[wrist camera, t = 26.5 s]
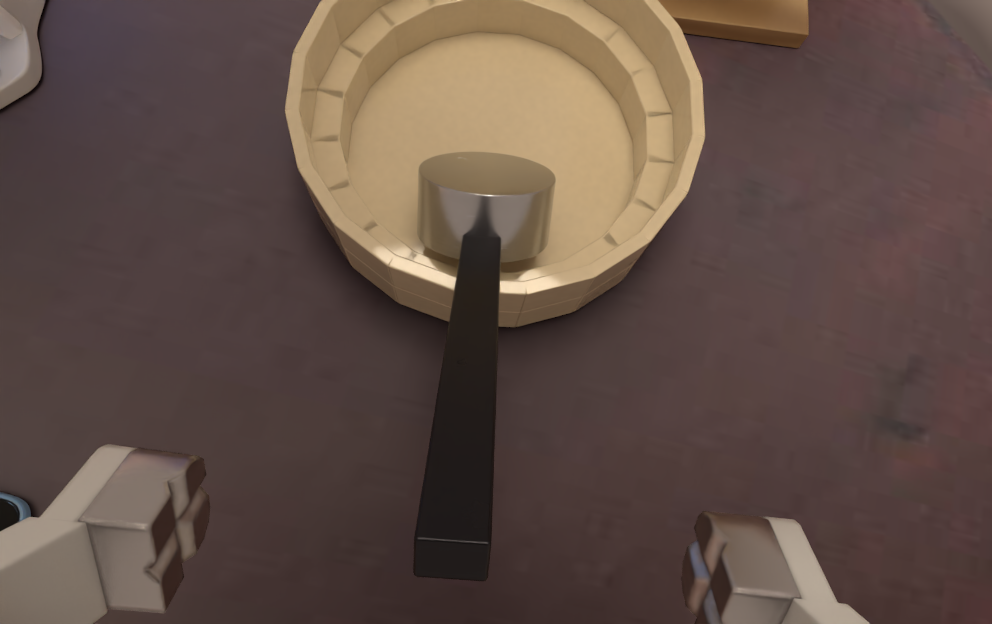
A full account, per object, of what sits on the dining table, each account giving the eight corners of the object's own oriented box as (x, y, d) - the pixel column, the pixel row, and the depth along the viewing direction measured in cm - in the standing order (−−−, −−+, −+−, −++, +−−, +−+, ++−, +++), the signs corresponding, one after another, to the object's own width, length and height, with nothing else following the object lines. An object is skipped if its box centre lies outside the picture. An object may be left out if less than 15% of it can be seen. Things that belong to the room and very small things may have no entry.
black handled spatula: (424, 206, 34) (426, 147, 32) (545, 216, 34) (552, 157, 32) (310, 570, 15) (301, 463, 13) (589, 590, 15) (611, 486, 13)
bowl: (524, 406, 32) (539, 385, 26) (238, 181, 34) (195, 116, 29) (729, 142, 37) (780, 74, 31) (465, -41, 39) (467, -136, 33)
